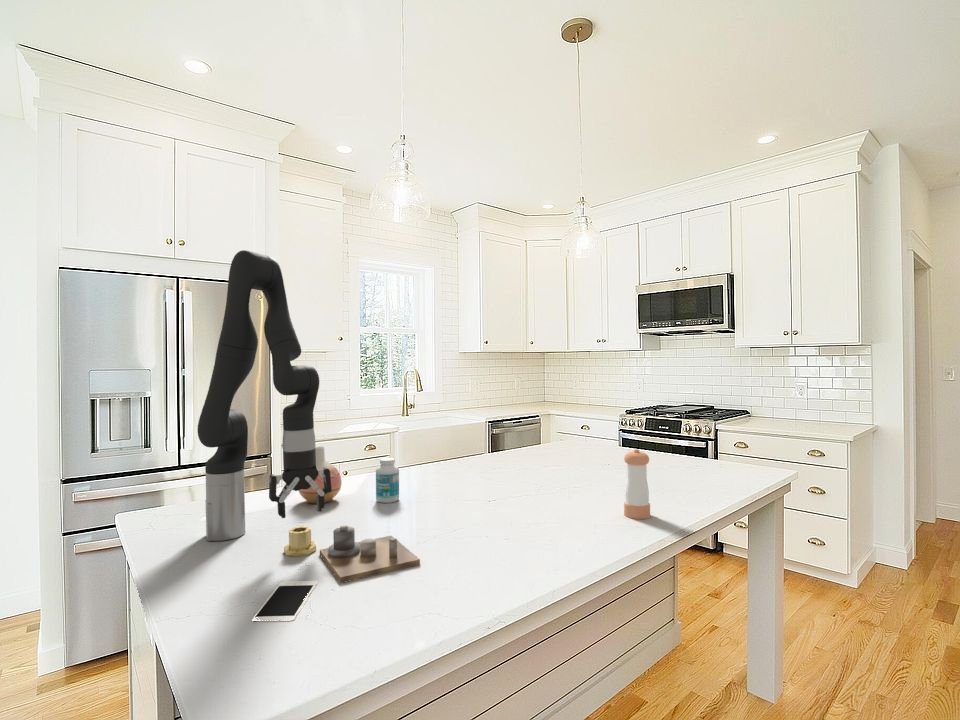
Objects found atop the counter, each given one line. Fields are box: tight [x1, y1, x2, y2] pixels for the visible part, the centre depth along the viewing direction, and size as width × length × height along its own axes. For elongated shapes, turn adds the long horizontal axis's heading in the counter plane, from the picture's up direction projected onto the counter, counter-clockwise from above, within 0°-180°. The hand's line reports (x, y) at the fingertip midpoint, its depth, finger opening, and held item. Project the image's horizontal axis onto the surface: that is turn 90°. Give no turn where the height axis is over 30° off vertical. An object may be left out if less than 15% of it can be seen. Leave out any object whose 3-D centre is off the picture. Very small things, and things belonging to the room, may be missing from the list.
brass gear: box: [283, 525, 317, 558], centre depth 127 cm, size 7×7×5 cm
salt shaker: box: [623, 448, 651, 520], centre depth 151 cm, size 7×7×19 cm
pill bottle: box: [375, 457, 400, 504], centre depth 170 cm, size 8×7×14 cm
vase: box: [298, 446, 343, 505], centre depth 170 cm, size 14×14×18 cm
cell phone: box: [254, 580, 319, 621], centre depth 102 cm, size 8×16×1 cm, turn 2°
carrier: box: [319, 525, 421, 584], centre depth 121 cm, size 18×18×7 cm
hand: (301, 514), depth 127 cm, fingers open, 8 cm apart
